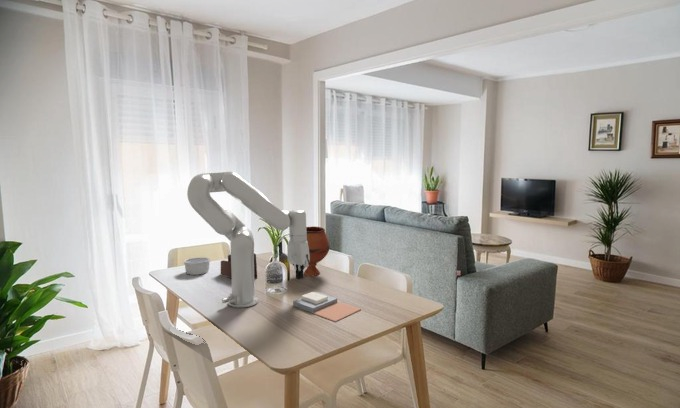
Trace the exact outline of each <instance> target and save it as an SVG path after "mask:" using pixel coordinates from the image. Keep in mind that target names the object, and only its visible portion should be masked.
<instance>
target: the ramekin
mask: <svg viewBox="0 0 680 408" xmlns="http://www.w3.org/2000/svg"><path fill="white" fill-rule="evenodd" d="M210 263H211V259H210V258H208V257H203V256H199V257H197V256H196V257H191V258H187V259H184V261H183V264H184V269H185V272H186V274H187V275H189V274H190V276H199V274H201V275H203V274H204V273H205V274H207V273H208V272H209V270H210Z"/></svg>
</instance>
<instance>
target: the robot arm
mask: <svg viewBox="0 0 680 408" xmlns="http://www.w3.org/2000/svg"><path fill="white" fill-rule="evenodd" d="M222 192H226V193H227V194H229V195H230V196H231V197H233V198H234V199H235V200H237V201H238V202H239V203H241V204H242V205H243V206H245V207H246V208H247V209H248V210H250V212H253V213H254V214H255V215H257V216H258V217H259V218H261V219H262V220H263V221H264V222H266V223H267V224H269V225H270V226H271V227H272V228H273V229H276V230H277V231H286V230H287V229H288V228H289V229H288V231H289V236H288V237H289V241H288V243H287V263H290V264H291V265H292V266H293V267H294V270H295V279H296V280H301V279H304V271H305V268H306V269H307V267H309V265H308V263H309V261H310V256H309V247H308V242H307V232H306V227H307V213H306V211H305V210H302V209H294V210H293V209H292V210H282V209H280V208H278V207H277V206H276V205H275V204H273V203H272V202H271V201H270V200H269V199H268V198H267V197H266V196H265V194H263V193H262V192H261V191H260V190H259V189H257V188H256V187H254V186H253V185H252V184H251V183H250V182H249V183H248V181H247V180H245V179H244V178H243V177H241V176H240V175H239V174H238V173H237V172H235V171H225V172H224V171H223V172H209V173H208V172H207V173H206V172H205V173H203V172H202V173H199V174H196V175H195V176H193V177H192V179H191V180H190V182H189V184H188V187H187V200H188V202H189V205H190V206H191V208H192V209H193V211H195V212H196V213H197V214H198V215H199V216H200V217H201V218H202V219H203V221H204V222H206V224H208V225H209V226H210V227H211V228H212V229H213V230H214V232H216V233H217V234H218V235H222V236H224V237H226V239H227V240H229V241H230V242H229V243H230V255H231V275H232V279H231V293H229V295H228V297H224V298H222V299H221V303H222V304H226V303H228V305H229V306H230V307H233V308H239V309H241V308H249V307H252V306H255V305H257V304H258V303H259V297H257V296H256V295H255V292H256V291H255V279H254V253H255V240H254V239H255V238H254V234H253V232H252V231H251V230H250V228H249V227H247V226H246V224H244V223H243V222H242V220H241V219H239V218H238V217H237V216H236V215H235V214H234V213H233V212H231V211H230V210H226V209H224V208H223V207H221V205H220V204H219V203H218V202H217V201H216V200H215V199H214V198H213V197H212V196H211V193H222Z"/></svg>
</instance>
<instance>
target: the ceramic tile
mask: <svg viewBox="0 0 680 408" xmlns="http://www.w3.org/2000/svg"><path fill="white" fill-rule="evenodd" d="M316 292H317V291H316ZM316 292H315V291H311V292H308V293H305V294H303V295H301V297H300V298H301V299H303V300H305V301H308V302H311V303H314V304H319V303H321V302H324V301H326V300H328V296H329V295H328V296H325V295H326V294H325V295H322V294H323V293H322V294H319V293H320V292H319V293H316Z"/></svg>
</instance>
